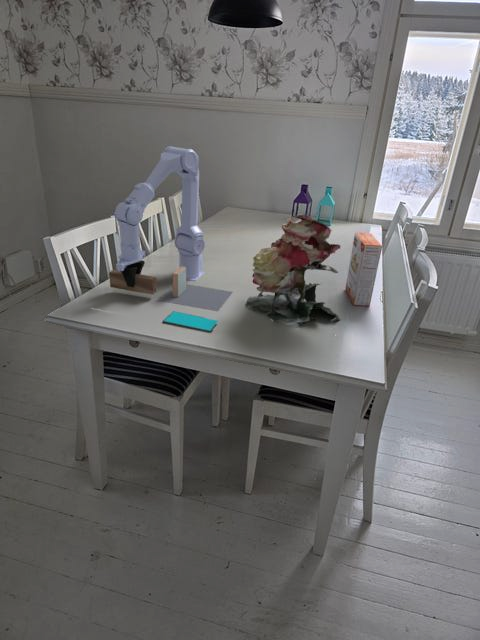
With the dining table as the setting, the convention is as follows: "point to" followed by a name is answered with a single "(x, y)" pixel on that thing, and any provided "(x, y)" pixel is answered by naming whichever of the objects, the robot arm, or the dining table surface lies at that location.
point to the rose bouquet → (292, 271)
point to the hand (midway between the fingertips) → (133, 284)
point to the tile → (179, 281)
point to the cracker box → (363, 268)
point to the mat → (198, 297)
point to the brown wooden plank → (141, 282)
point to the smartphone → (191, 321)
